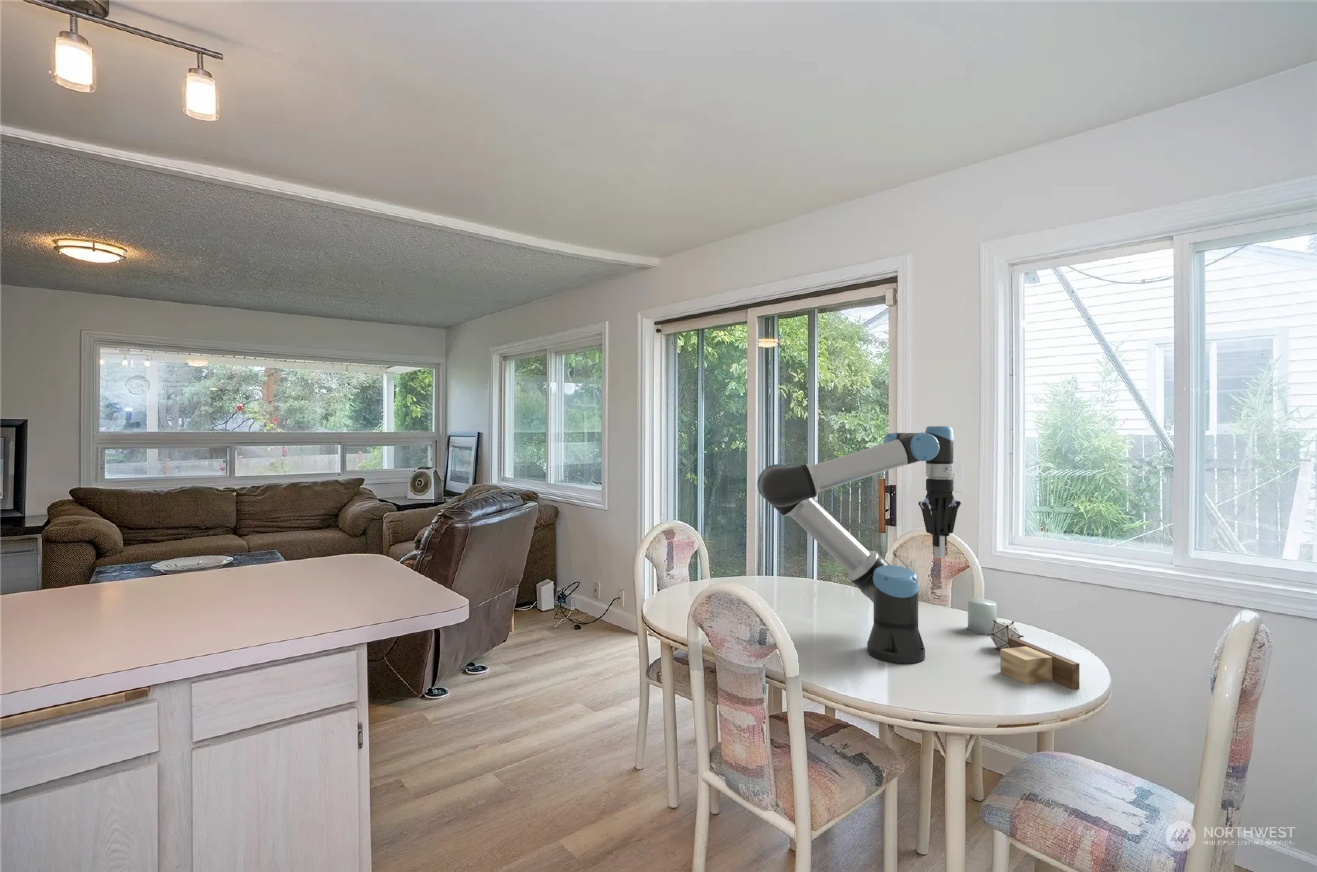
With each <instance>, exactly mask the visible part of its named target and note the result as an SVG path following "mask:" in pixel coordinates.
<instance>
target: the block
mask: <svg viewBox="0 0 1317 872" xmlns="http://www.w3.org/2000/svg"><path fill="white" fill-rule="evenodd" d="M1000 673H1002V674H1004V675H1006V676H1008V677H1011V678H1013V679H1015V680H1017V681H1019V682H1021V683H1022V684H1025V685H1027V684H1035V683H1043V682H1050V681H1051V682H1052V681H1053V680H1052V657H1051V656H1049V655H1046V654H1044V653H1041V652H1039V651H1036V650H1034V649H1032V648H1029V647H1027V646H1025V647H1016V648H1006V649H1000Z"/></svg>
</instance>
